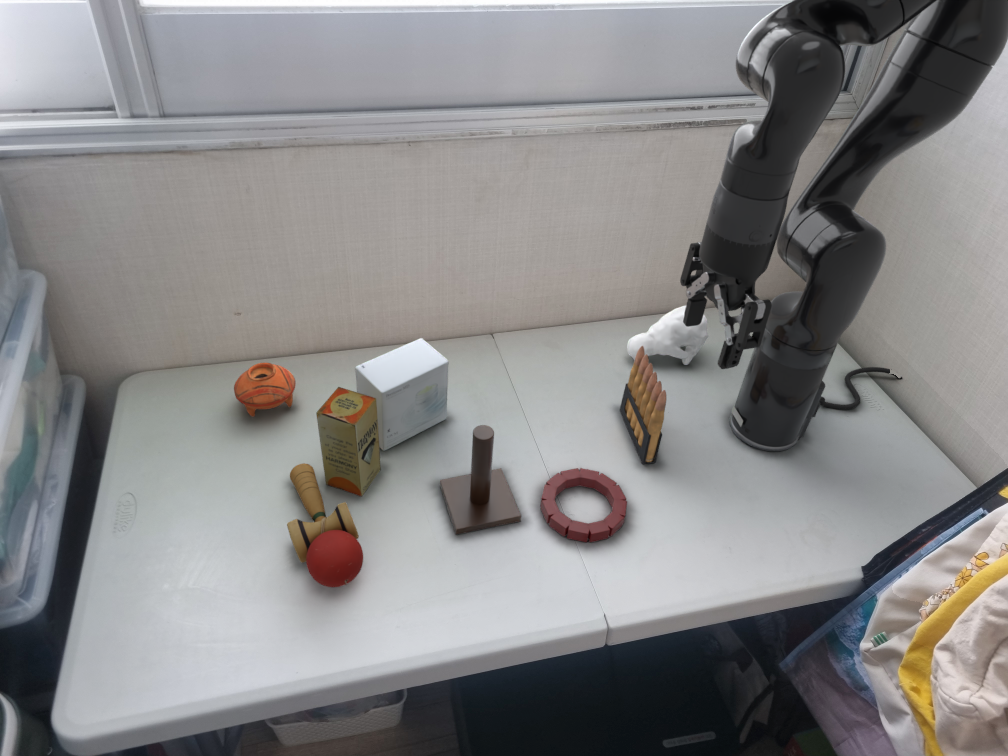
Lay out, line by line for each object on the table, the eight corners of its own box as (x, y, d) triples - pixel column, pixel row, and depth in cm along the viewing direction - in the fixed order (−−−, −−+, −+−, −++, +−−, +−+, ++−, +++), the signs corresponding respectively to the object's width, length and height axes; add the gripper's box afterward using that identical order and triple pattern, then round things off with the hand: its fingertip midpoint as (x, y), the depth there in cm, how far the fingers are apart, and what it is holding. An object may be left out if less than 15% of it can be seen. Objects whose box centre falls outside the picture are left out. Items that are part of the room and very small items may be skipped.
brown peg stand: (501, 473, 97) (506, 403, 90) (520, 521, 92) (528, 450, 84) (439, 485, 95) (440, 414, 88) (456, 535, 89) (458, 463, 82)
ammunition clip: (655, 463, 100) (674, 394, 93) (642, 464, 100) (659, 395, 92) (631, 408, 108) (647, 341, 101) (619, 409, 108) (633, 342, 100)
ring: (604, 470, 99) (606, 462, 98) (638, 531, 91) (640, 523, 90) (529, 485, 96) (531, 476, 95) (558, 549, 89) (559, 541, 88)
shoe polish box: (325, 484, 94) (316, 412, 86) (345, 457, 98) (338, 386, 90) (361, 496, 93) (355, 425, 85) (380, 469, 97) (376, 398, 89)
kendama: (266, 501, 93) (303, 606, 80) (267, 458, 90) (305, 560, 77) (329, 491, 97) (374, 590, 83) (332, 450, 94) (379, 545, 80)
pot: (274, 432, 100) (256, 391, 96) (234, 420, 104) (215, 380, 100) (315, 397, 105) (299, 356, 102) (274, 387, 109) (258, 347, 105)
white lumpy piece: (716, 317, 111) (639, 334, 109) (707, 362, 117) (634, 378, 115) (696, 293, 116) (622, 308, 114) (689, 338, 121) (618, 353, 119)
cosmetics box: (385, 453, 99) (381, 392, 92) (357, 426, 102) (352, 365, 96) (449, 419, 104) (450, 359, 98) (421, 394, 108) (420, 335, 101)
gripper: (812, 254, 78) (767, 377, 88) (739, 190, 88) (706, 307, 98) (748, 262, 76) (709, 387, 86) (680, 196, 86) (653, 315, 96)
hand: (708, 344), depth 92 cm, fingers open, 8 cm apart
